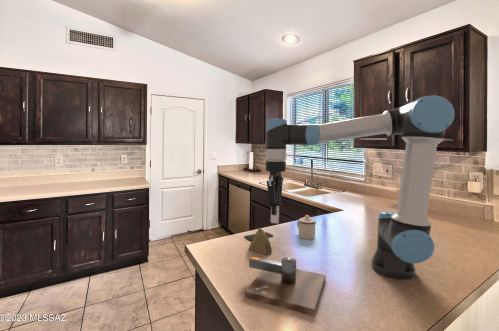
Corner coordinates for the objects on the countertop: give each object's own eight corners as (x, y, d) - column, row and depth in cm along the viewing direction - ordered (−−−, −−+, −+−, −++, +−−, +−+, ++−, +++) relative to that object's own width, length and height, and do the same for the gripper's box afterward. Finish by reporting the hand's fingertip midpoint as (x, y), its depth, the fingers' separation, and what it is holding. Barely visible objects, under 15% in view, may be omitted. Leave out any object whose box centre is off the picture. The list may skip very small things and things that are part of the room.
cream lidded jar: (319, 237, 139) (319, 216, 138) (306, 240, 134) (307, 218, 133) (303, 231, 149) (303, 211, 148) (291, 234, 144) (291, 213, 143)
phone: (274, 235, 140) (250, 240, 132) (274, 237, 140) (250, 242, 132) (266, 231, 146) (243, 236, 139) (266, 233, 146) (243, 237, 139)
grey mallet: (297, 278, 91) (297, 257, 90) (293, 285, 86) (294, 262, 86) (252, 268, 98) (253, 248, 97) (247, 274, 93) (247, 253, 93)
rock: (278, 249, 117) (269, 238, 126) (269, 236, 114) (260, 226, 123) (259, 265, 115) (252, 253, 124) (249, 252, 112) (242, 241, 121)
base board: (325, 280, 94) (325, 274, 94) (314, 316, 74) (314, 308, 74) (268, 268, 103) (268, 263, 103) (244, 297, 83) (244, 290, 83)
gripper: (272, 159, 105) (271, 217, 106) (259, 161, 93) (259, 226, 94) (290, 160, 102) (289, 219, 103) (280, 161, 90) (278, 228, 91)
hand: (274, 222), depth 99 cm, fingers closed
